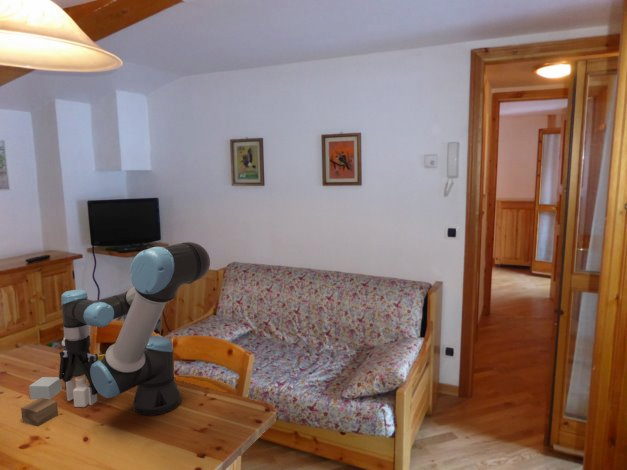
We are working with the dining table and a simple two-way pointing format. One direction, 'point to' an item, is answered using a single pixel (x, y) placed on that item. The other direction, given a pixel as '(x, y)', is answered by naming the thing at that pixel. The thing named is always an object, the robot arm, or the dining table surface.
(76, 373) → the coffee cup
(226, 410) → the dining table surface
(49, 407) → the walnut block
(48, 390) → the grey-blue block
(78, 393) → the pepper shaker
